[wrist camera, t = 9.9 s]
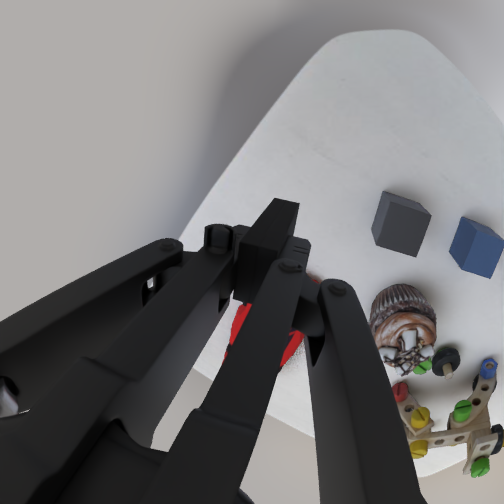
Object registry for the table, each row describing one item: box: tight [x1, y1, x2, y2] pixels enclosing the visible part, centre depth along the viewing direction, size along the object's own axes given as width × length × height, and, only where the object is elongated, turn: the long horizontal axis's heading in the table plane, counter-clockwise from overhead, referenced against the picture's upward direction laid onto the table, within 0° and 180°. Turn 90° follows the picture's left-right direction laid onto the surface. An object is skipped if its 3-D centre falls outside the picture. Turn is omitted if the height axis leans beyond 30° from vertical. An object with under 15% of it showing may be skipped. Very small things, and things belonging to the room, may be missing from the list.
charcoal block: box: [371, 191, 432, 257], centre depth 29 cm, size 5×5×5 cm
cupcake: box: [368, 284, 437, 376], centre depth 32 cm, size 10×10×10 cm
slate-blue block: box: [449, 217, 504, 279], centre depth 27 cm, size 5×5×5 cm
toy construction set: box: [392, 348, 504, 478], centre depth 31 cm, size 27×22×21 cm
